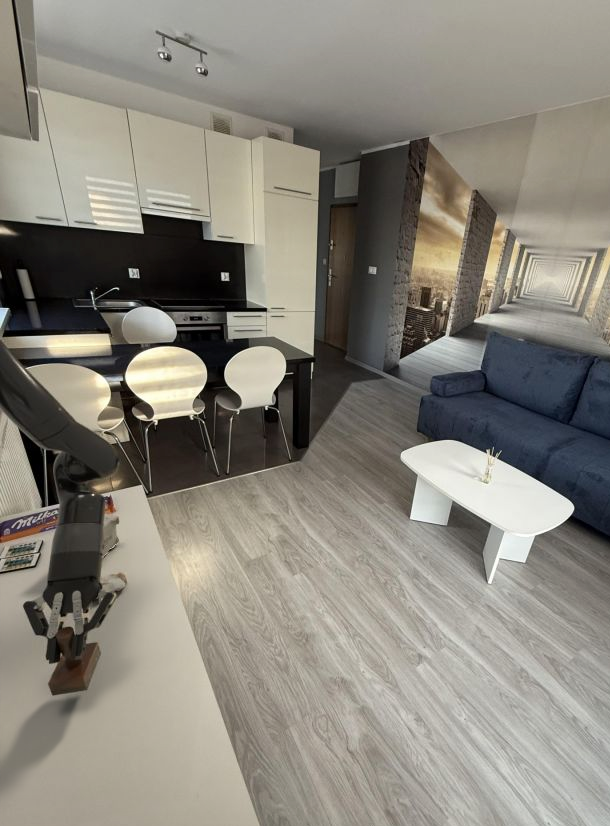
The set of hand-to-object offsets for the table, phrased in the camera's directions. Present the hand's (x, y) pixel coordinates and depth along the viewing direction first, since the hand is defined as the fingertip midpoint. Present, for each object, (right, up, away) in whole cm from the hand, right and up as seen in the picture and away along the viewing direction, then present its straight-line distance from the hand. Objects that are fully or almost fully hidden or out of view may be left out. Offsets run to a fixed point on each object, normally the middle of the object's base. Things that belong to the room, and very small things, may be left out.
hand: (65, 660), depth 64 cm
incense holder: (-19, +7, +37) cm, 42 cm away
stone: (-11, +2, +27) cm, 29 cm away
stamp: (-1, -4, +4) cm, 6 cm away
